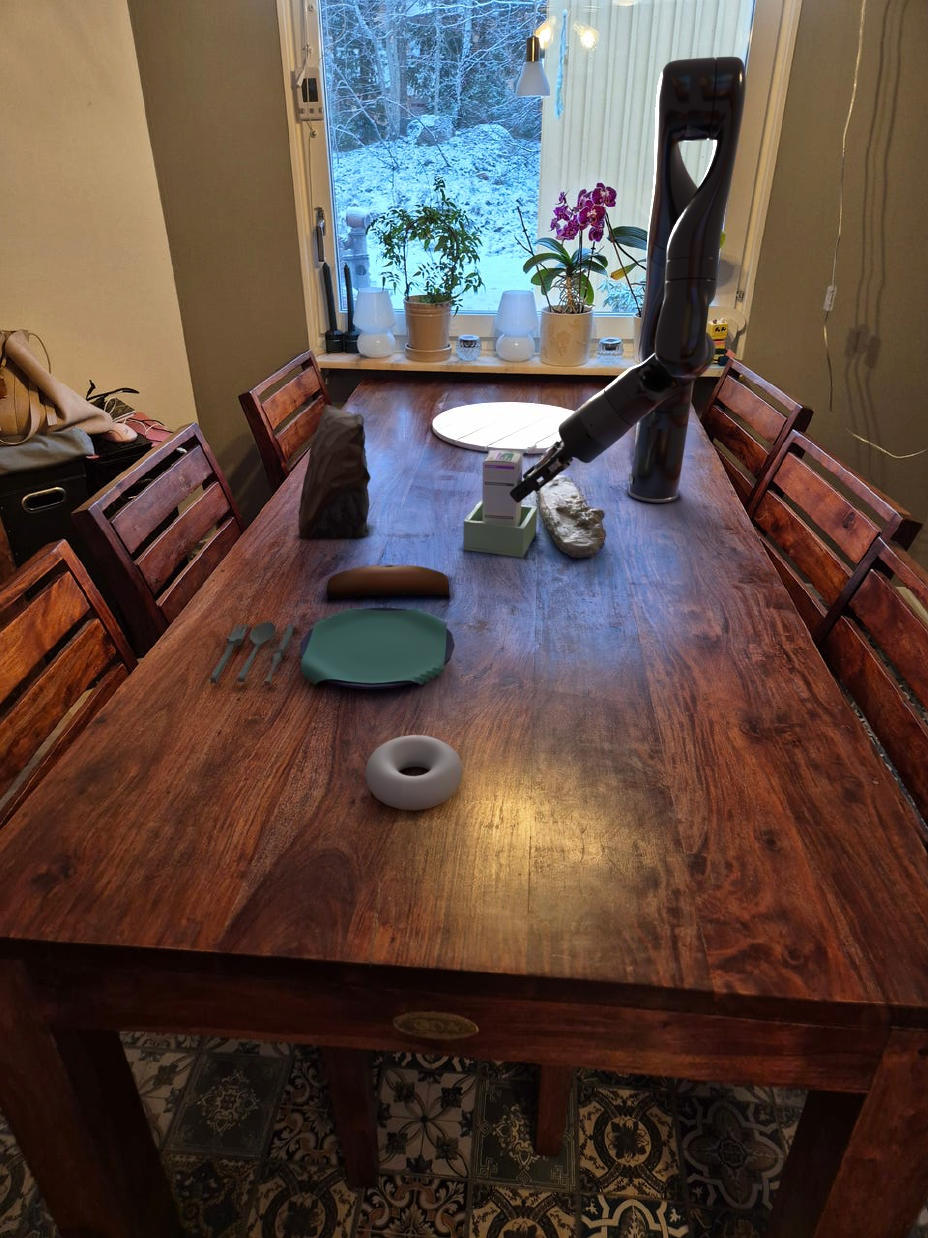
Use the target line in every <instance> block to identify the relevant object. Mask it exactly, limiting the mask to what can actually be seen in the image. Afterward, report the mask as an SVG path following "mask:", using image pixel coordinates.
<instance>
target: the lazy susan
mask: <svg viewBox="0 0 928 1238" xmlns="http://www.w3.org/2000/svg"><path fill="white" fill-rule="evenodd" d="M575 411H576V410H571V409H567V408H563V407H560V406H554V405H549V404H541V403H531V402H511V401H509V402H485V403H484V402H483V403H474V404H468V405H462V406H458V407H453V408H451V409H448V410H445V411H443V412H441V413H440V414H437V416H435V418H433V420H432V431H433V433H434V435H436V436H437V437H438V438H439V439H441V440H443V441H445V442H447V443H448V444H452V445H455V446H457V447H460V448H465V449H468V450H474V451H479V452H487V453H489V451H490V450H491V451H495V450H505V451H515V452H521V453H523V455H524V454H527V455H534V454H543V453H544V452H546V451H547V450H548V449H549V448H550V447H551V446H552V445H553V444H554V443H555V442H556V441H558V442H559V441H560V440H561V438H560V435H559V431H558V428H559V425H560V424H561V423H562V422H563V421H565V420H566V419H567V418H568V417H569V416H570V415H572V414H573V413H574V412H575Z"/></svg>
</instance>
